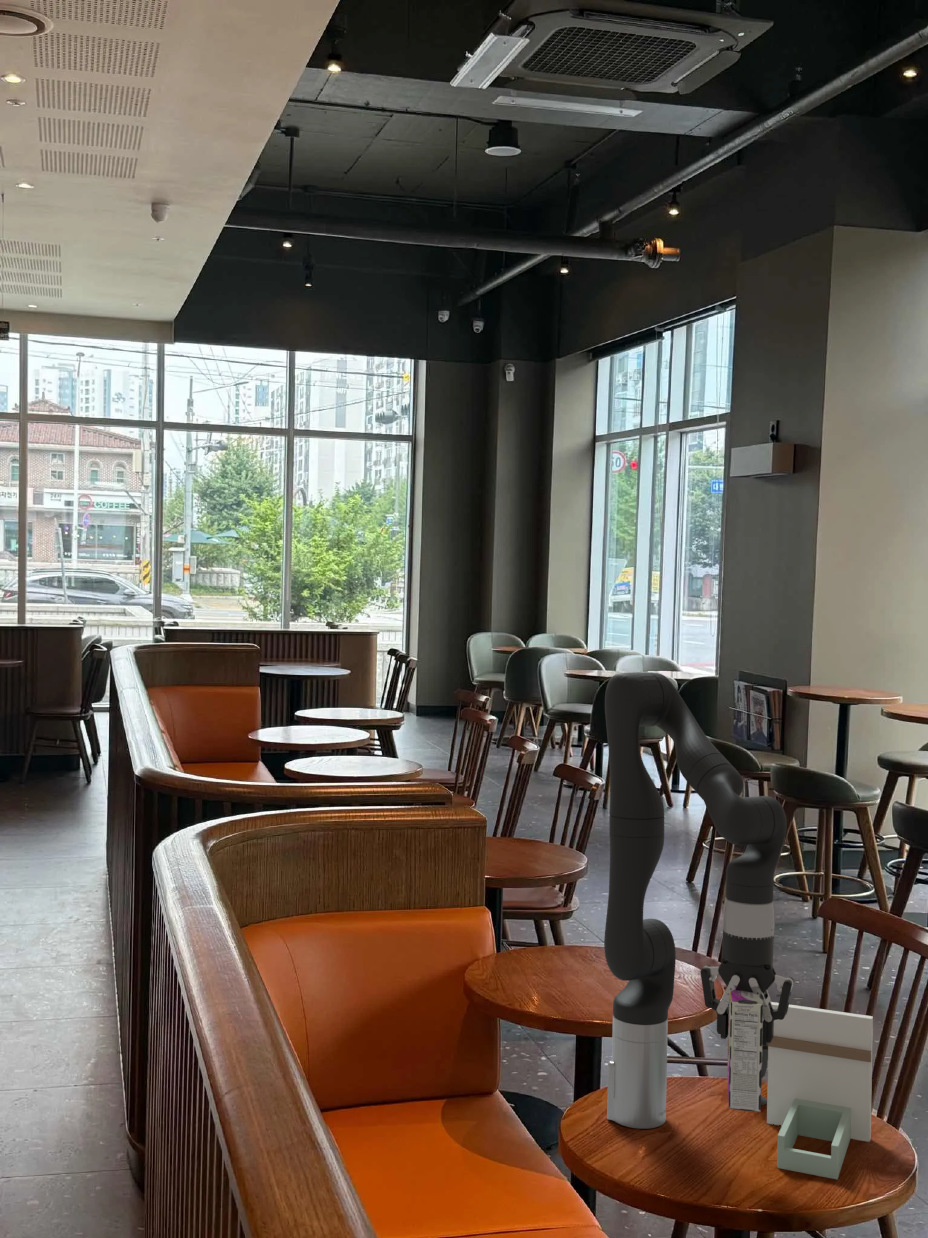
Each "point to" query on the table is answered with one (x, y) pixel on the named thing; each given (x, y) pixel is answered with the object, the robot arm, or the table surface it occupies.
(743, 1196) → the table surface
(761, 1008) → the candy bar box
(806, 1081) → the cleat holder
